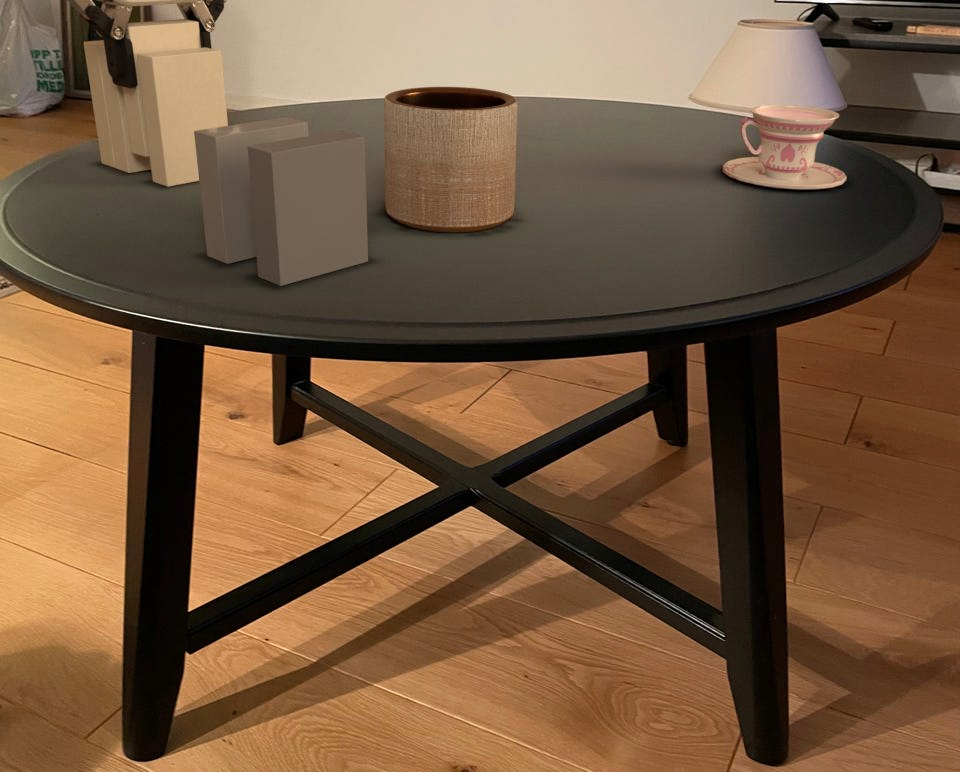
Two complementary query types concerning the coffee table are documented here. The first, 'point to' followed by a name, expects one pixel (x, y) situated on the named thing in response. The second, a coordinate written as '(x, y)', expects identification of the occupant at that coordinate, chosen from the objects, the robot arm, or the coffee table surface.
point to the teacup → (786, 149)
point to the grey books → (283, 197)
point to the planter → (450, 158)
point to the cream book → (145, 41)
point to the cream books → (159, 110)
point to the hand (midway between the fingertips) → (163, 79)
